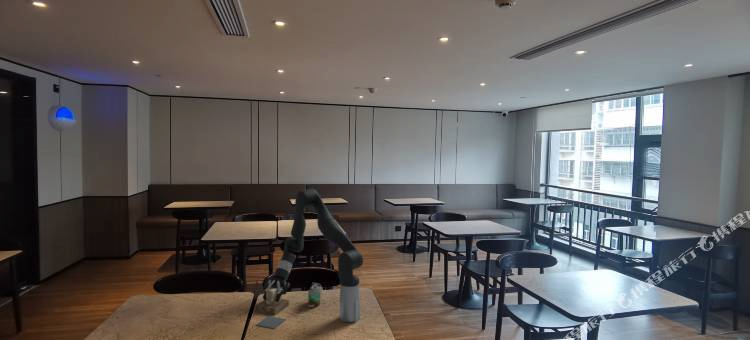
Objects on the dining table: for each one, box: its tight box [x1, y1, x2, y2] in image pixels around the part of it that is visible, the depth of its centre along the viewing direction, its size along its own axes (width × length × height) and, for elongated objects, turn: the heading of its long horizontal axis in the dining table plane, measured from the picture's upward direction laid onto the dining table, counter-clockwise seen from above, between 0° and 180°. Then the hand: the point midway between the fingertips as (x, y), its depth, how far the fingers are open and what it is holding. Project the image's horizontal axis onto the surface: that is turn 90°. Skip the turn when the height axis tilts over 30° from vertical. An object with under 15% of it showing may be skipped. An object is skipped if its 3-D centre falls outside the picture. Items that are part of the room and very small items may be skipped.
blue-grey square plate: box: [255, 315, 287, 330], centre depth 180 cm, size 10×10×1 cm
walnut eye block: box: [254, 298, 289, 315], centre depth 196 cm, size 12×12×3 cm
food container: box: [307, 282, 323, 309], centre depth 201 cm, size 12×6×10 cm, turn 179°
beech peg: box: [266, 288, 278, 306], centre depth 196 cm, size 4×4×10 cm
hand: (270, 300), depth 195 cm, fingers open, 6 cm apart
